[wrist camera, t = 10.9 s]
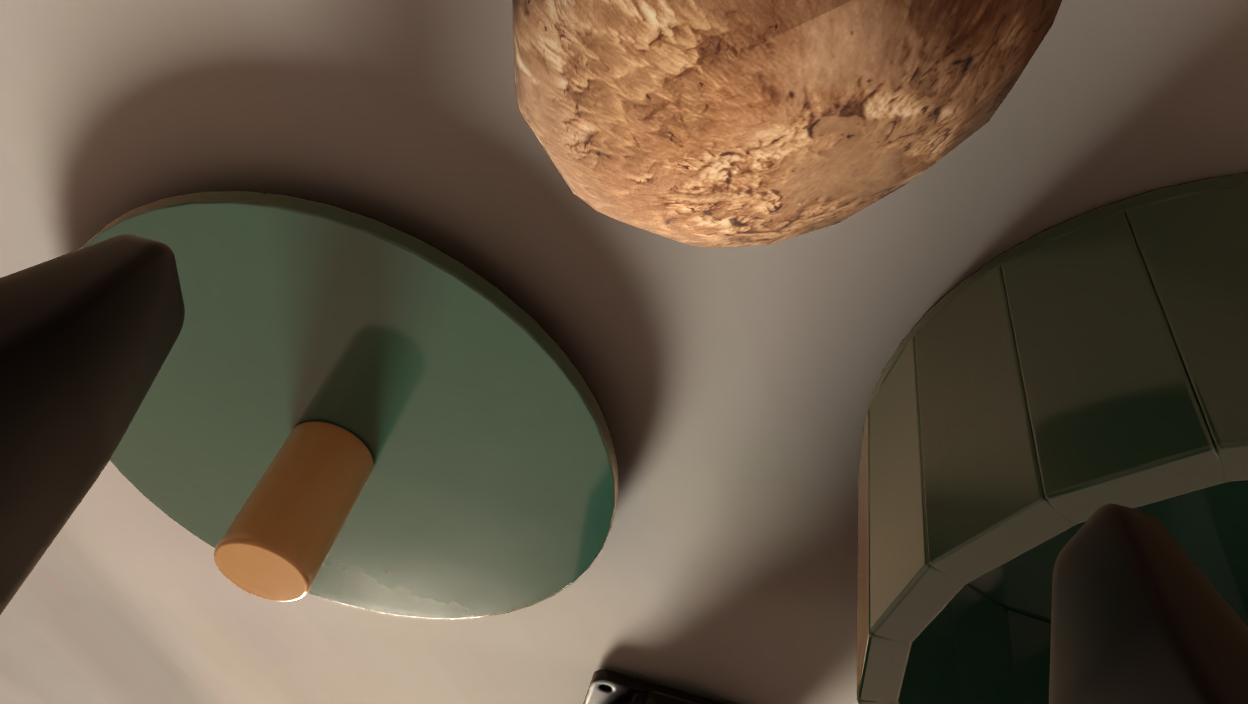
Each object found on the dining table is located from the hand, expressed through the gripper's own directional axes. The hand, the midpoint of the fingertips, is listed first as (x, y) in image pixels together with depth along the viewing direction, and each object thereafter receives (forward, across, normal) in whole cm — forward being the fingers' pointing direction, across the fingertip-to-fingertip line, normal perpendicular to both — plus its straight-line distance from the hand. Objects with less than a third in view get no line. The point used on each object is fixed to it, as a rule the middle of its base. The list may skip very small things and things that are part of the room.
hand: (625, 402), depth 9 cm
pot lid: (+9, +7, +14) cm, 18 cm away
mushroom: (+10, -1, -1) cm, 10 cm away
